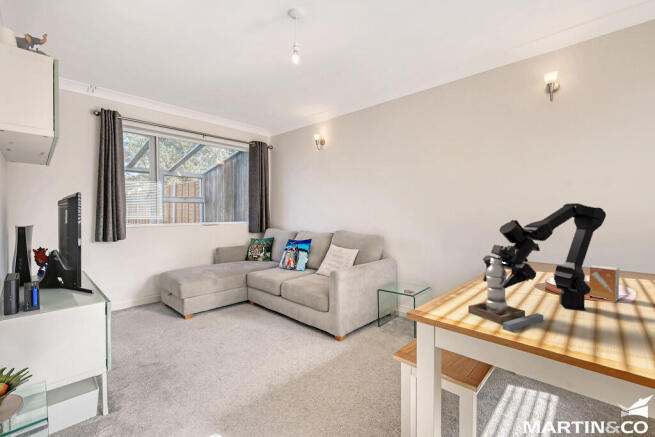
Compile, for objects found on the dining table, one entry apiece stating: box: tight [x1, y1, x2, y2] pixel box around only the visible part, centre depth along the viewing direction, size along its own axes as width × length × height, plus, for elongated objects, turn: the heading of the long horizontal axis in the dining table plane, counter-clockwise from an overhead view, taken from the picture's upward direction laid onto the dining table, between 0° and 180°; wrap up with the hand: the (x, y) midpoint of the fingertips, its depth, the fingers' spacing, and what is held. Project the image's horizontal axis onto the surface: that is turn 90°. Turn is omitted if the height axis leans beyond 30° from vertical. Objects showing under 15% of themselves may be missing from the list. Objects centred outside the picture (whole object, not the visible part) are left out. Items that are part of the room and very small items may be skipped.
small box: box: [588, 264, 620, 303], centre depth 119 cm, size 8×6×13 cm
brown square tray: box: [467, 301, 526, 325], centre depth 103 cm, size 13×13×2 cm
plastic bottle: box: [485, 257, 508, 315], centre depth 103 cm, size 6×7×20 cm
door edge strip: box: [502, 312, 544, 332], centre depth 94 cm, size 18×2×2 cm, turn 114°
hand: (493, 284), depth 102 cm, fingers open, 9 cm apart
